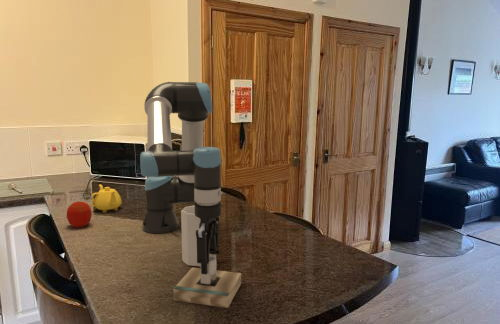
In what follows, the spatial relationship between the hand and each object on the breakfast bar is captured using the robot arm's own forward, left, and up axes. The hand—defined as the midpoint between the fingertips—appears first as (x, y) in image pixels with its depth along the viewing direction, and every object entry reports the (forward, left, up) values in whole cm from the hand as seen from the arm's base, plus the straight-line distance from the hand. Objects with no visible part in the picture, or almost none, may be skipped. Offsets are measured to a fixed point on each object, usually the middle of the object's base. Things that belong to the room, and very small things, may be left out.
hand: (208, 278), depth 112 cm
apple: (-74, +40, -4) cm, 84 cm away
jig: (0, 0, -4) cm, 4 cm away
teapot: (-77, +64, -4) cm, 100 cm away
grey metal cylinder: (0, 0, -2) cm, 2 cm away
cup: (-11, +20, -4) cm, 23 cm away
